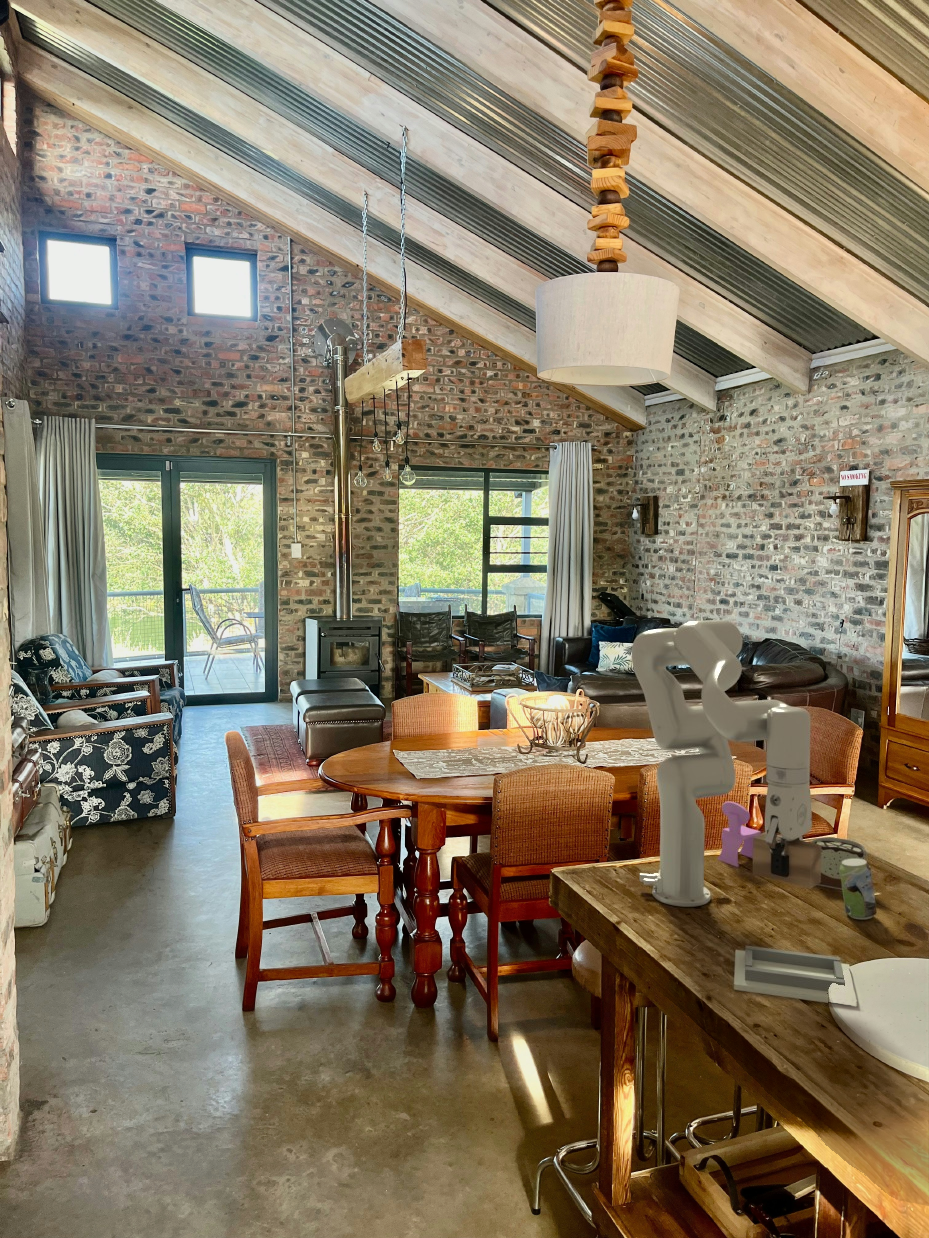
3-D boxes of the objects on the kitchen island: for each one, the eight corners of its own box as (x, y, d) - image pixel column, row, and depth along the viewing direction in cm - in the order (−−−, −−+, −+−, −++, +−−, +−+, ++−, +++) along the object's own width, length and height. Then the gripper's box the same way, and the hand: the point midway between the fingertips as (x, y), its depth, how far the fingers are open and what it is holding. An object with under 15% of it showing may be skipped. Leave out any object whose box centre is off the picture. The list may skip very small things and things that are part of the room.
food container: (870, 885, 206) (871, 842, 205) (865, 894, 201) (867, 850, 200) (813, 874, 213) (814, 833, 212) (808, 883, 208) (809, 840, 207)
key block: (809, 888, 161) (810, 850, 161) (752, 873, 169) (753, 837, 169) (820, 882, 165) (821, 844, 164) (764, 867, 172) (764, 832, 172)
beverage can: (879, 923, 185) (881, 867, 184) (841, 920, 187) (843, 864, 186) (872, 911, 191) (874, 856, 190) (835, 908, 193) (837, 854, 192)
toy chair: (765, 861, 222) (766, 801, 221) (741, 868, 217) (742, 807, 216) (738, 851, 229) (739, 793, 228) (714, 858, 224) (715, 799, 223)
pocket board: (733, 989, 158) (734, 973, 158) (735, 954, 172) (735, 939, 171) (857, 1006, 152) (857, 989, 152) (848, 969, 166) (849, 953, 165)
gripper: (786, 786, 157) (784, 888, 158) (827, 769, 169) (825, 865, 170) (746, 779, 162) (745, 878, 163) (788, 763, 174) (787, 855, 175)
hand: (786, 870), depth 167 cm, fingers closed on key block, 4 cm apart
